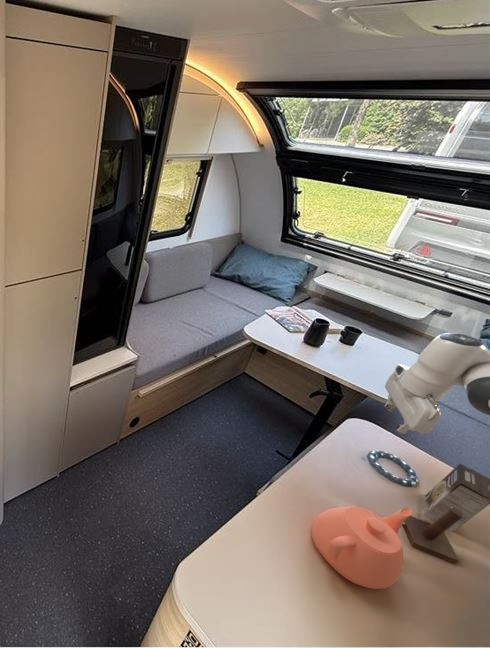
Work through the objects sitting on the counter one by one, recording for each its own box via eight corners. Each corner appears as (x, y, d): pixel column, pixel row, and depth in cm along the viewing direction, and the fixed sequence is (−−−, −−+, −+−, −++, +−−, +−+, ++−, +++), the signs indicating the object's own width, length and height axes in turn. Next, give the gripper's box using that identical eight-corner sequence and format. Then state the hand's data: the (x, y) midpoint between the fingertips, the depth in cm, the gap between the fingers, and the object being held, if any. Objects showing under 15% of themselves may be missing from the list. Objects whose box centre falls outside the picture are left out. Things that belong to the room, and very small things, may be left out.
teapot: (348, 507, 100) (376, 478, 93) (418, 573, 86) (456, 545, 80) (283, 531, 92) (308, 502, 85) (349, 608, 79) (384, 580, 72)
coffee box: (421, 496, 105) (459, 462, 97) (451, 513, 101) (493, 479, 93) (419, 516, 99) (459, 482, 91) (451, 535, 95) (495, 500, 87)
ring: (405, 463, 115) (410, 458, 114) (422, 496, 105) (428, 491, 104) (360, 447, 119) (364, 443, 118) (372, 477, 109) (376, 473, 108)
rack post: (438, 530, 96) (471, 504, 90) (455, 564, 89) (492, 538, 83) (397, 514, 99) (426, 488, 93) (411, 546, 92) (443, 519, 86)
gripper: (457, 414, 88) (422, 450, 95) (421, 368, 104) (394, 402, 111) (425, 405, 90) (393, 441, 97) (395, 361, 107) (369, 394, 114)
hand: (393, 420), depth 104 cm, fingers open, 8 cm apart
